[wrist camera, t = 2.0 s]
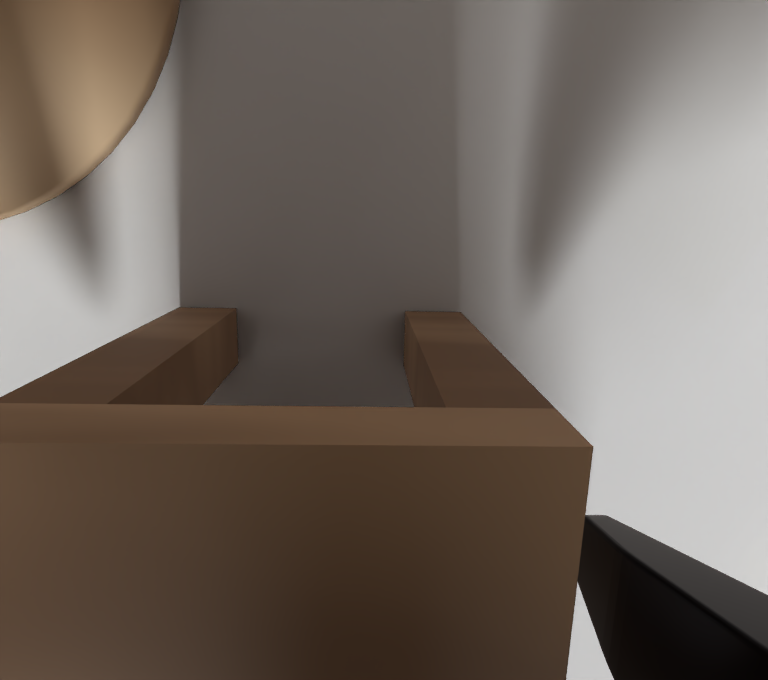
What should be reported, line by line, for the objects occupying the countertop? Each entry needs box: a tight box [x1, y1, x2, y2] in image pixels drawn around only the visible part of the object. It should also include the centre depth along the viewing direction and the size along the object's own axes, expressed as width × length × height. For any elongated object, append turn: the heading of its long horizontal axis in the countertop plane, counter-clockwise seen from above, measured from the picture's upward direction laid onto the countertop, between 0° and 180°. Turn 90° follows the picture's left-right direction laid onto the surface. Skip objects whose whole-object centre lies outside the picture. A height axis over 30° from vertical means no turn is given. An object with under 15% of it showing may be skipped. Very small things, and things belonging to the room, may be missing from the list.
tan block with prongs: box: [0, 307, 593, 680], centre depth 9 cm, size 6×6×7 cm
